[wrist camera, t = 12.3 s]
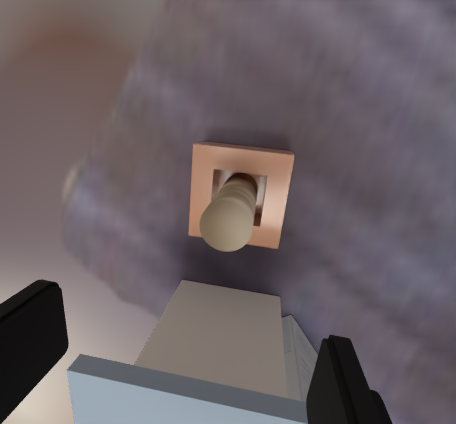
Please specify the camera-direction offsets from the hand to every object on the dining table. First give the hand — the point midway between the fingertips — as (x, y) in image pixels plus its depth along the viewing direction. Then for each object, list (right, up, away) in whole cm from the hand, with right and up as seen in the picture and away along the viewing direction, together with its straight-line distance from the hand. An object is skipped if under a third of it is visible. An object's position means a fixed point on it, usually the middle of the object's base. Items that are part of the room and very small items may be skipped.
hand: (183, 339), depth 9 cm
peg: (+3, +7, +21) cm, 23 cm away
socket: (+3, +7, +22) cm, 24 cm away
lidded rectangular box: (+2, -5, +27) cm, 27 cm away
